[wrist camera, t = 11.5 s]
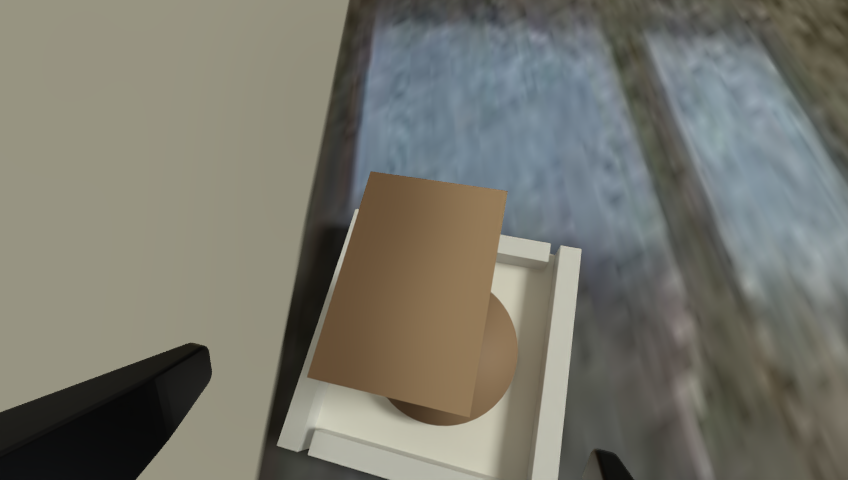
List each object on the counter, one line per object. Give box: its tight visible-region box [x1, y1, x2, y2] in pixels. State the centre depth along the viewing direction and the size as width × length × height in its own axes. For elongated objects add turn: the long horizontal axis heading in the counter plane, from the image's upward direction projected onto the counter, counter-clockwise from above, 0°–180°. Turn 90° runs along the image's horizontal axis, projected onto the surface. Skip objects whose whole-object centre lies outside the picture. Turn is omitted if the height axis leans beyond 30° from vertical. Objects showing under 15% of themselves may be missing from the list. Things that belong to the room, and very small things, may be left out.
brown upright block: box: [307, 172, 518, 426], centre depth 14 cm, size 7×7×12 cm
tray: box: [277, 209, 581, 480], centre depth 20 cm, size 12×12×3 cm
